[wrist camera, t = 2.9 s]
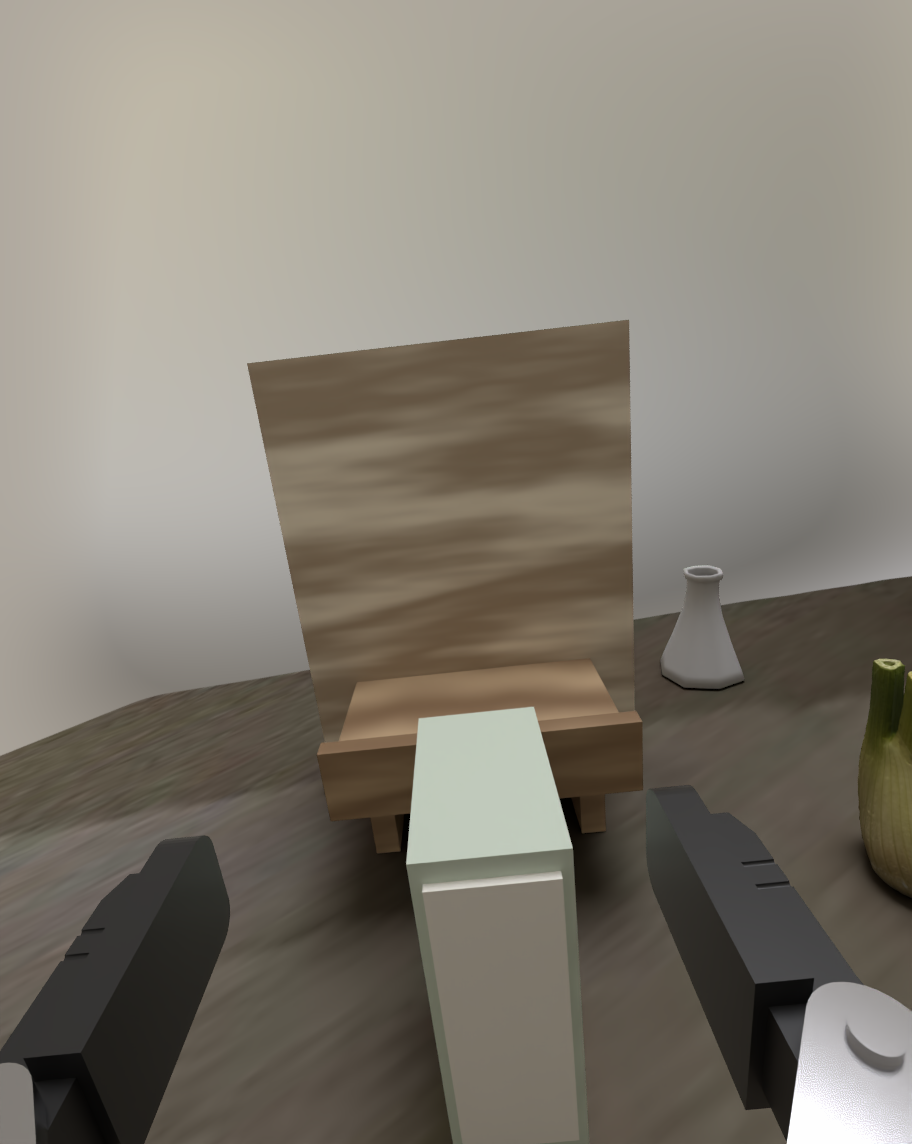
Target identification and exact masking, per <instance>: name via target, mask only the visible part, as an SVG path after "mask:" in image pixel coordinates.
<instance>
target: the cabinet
mask: <svg viewBox="0 0 912 1144" xmlns="http://www.w3.org/2000/svg"><path fill="white" fill-rule="evenodd" d="M406 867H407V873H408V879H409V885H410V891H411V897H412V903H413V909H414V914H415V920H416V926H417V932H418V938H419V944H420V950H421V956H422V962H423V968H424V974H425V980H426V986H427V992H428V998H429V1004H430V1010H431V1016H432V1022H433V1028H434V1034H435V1040H436V1046H437V1052H438V1058H439V1064H440V1070H441V1076H442V1082H443V1088H444V1094H445V1100H446V1106H447V1112H448V1117H449V1123H450V1129H451V1135H452V1141H453V1144H589V1129H588V1111H587V1093H586V1075H585V1057H584V1039H583V1021H582V1003H581V985H580V967H579V949H578V931H577V913H576V896H575V878H574V860H573V847H572V843H571V840H570V836H569V832H568V829H567V825H566V822H565V818H564V814H563V811H562V807H561V803H560V800H559V796H558V793H557V789H556V785H555V782H554V778H553V774H552V771H551V767H550V764H549V760H548V756H547V753H546V749H545V745H544V742H543V738H542V735H541V731H540V727H539V724H538V720H537V716H536V713H535V709H534V707H526V708H516V709H506V710H496V711H487V712H477V713H467V714H457V715H447V716H438V717H428V718H419V721H418V733H417V744H416V756H415V767H414V779H413V791H412V802H411V814H410V826H409V837H408V849H407V860H406Z"/></svg>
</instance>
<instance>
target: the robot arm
mask: <svg viewBox="0 0 912 1144" xmlns="http://www.w3.org/2000/svg"><path fill="white" fill-rule="evenodd" d="M646 855H647V865H648V871H649V876H650V880H651V884H652V887H653V890H654V893H655V896H656V898H657V901H658V903H659V905H660V908H661V910H662V913H663V915H664V917H665V920H666V922H667V924H668V927H669V929H670V932H671V934H672V936H673V939H674V941H675V943H676V946H677V948H678V951H679V953H680V955H681V958H682V960H683V962H684V965H685V967H686V970H687V972H688V974H689V977H690V979H691V981H692V984H693V986H694V989H695V991H696V993H697V996H698V998H699V1000H700V1003H701V1005H702V1008H703V1010H704V1012H705V1015H706V1017H707V1019H708V1022H709V1024H710V1027H711V1029H712V1031H713V1034H714V1036H715V1038H716V1041H717V1043H718V1046H719V1048H720V1050H721V1053H722V1055H723V1057H724V1060H725V1062H726V1064H727V1067H728V1069H729V1072H730V1074H731V1076H732V1079H733V1081H734V1083H735V1086H736V1088H737V1091H738V1093H739V1095H740V1098H741V1100H742V1102H743V1105H744V1107H745V1110H751V1109H762V1108H771V1109H772V1111H773V1113H774V1115H775V1118H776V1120H777V1122H778V1124H779V1126H780V1128H781V1131H782V1133H783V1135H784V1137H785V1139H786V1142H787V1144H912V1012H911V1011H910V1010H909V1009H907V1008H906V1007H905V1006H903V1005H902V1004H901V1003H899V1002H898V1001H896V1000H894V999H893V998H891V997H890V996H888V995H886V994H884V993H882V992H880V991H878V990H876V989H873V988H870V987H867V986H865V985H863V984H862V982H861V981H860V980H859V978H858V977H857V976H856V975H855V973H854V972H853V971H852V969H851V968H850V966H849V965H848V964H847V962H846V961H845V959H844V958H843V956H842V955H841V954H840V952H839V951H838V949H837V948H836V947H835V945H834V944H833V942H832V941H831V939H830V938H829V937H828V935H827V934H826V932H825V931H824V930H823V928H822V927H821V925H820V924H819V922H818V921H817V920H816V918H815V917H814V915H813V914H812V913H811V911H810V910H809V908H808V907H807V906H806V904H805V903H804V901H803V900H802V898H801V897H800V896H799V894H798V893H797V891H796V890H795V889H794V887H791V886H790V884H789V880H788V879H787V877H786V876H785V874H784V873H783V872H782V870H781V869H780V867H779V866H778V864H775V863H774V859H773V857H772V856H771V855H770V853H769V852H768V850H767V849H766V848H765V846H764V845H763V843H762V842H761V840H760V839H759V838H758V836H757V835H756V833H755V832H753V831H752V830H751V829H749V828H748V827H747V826H745V825H744V824H743V823H741V822H740V821H739V820H737V819H736V818H735V817H733V816H732V815H731V814H729V813H718V814H710V812H709V811H708V809H707V808H706V806H705V804H704V803H703V801H702V800H701V798H700V796H699V795H698V793H697V792H696V790H695V789H694V788H693V787H692V786H691V785H684V786H674V787H665V788H655V789H649V790H648V791H647V796H646ZM229 919H230V904H229V898H228V895H227V891H226V888H225V884H224V881H223V877H222V874H221V870H220V867H219V863H218V860H217V857H216V853H215V850H214V846H213V843H212V841H211V839H210V838H209V837H208V836H195V837H185V838H175V839H166V840H163V841H161V842H160V843H159V844H158V845H157V847H156V848H155V850H154V851H153V853H152V854H151V856H150V857H149V859H148V861H147V862H146V864H145V865H144V867H143V869H142V870H141V872H140V873H138V874H130V875H128V876H127V877H126V878H125V879H124V880H123V881H122V882H121V883H120V884H119V885H118V886H117V887H115V888H114V889H113V890H112V891H111V892H110V893H109V894H108V895H107V896H106V897H105V898H103V899H102V900H101V902H100V903H99V905H98V906H97V908H96V909H95V911H94V912H93V914H92V915H91V917H90V918H89V920H88V921H87V923H86V924H85V926H84V927H83V929H82V933H81V936H77V938H76V939H75V940H74V942H73V943H72V945H71V946H70V948H69V949H68V951H67V952H66V954H65V959H64V961H61V962H60V963H59V964H58V966H57V967H56V969H55V970H54V972H53V973H52V975H51V976H50V978H49V979H48V981H47V982H46V984H45V985H44V987H43V988H42V990H41V991H40V993H39V994H38V996H37V997H36V999H35V1000H34V1002H33V1003H32V1005H31V1006H30V1008H29V1009H28V1011H27V1012H26V1014H25V1015H24V1016H23V1018H22V1019H21V1021H20V1022H19V1024H18V1025H17V1027H16V1028H15V1030H14V1031H13V1033H12V1034H11V1036H10V1037H9V1039H8V1040H7V1042H6V1043H5V1045H4V1046H3V1048H2V1049H1V1051H0V1144H144V1143H145V1140H146V1138H147V1135H148V1133H149V1130H150V1128H151V1125H152V1123H153V1120H154V1118H155V1115H156V1113H157V1110H158V1107H159V1105H160V1102H161V1100H162V1097H163V1095H164V1092H165V1090H166V1087H167V1085H168V1082H169V1080H170V1077H171V1075H172V1072H173V1070H174V1067H175V1065H176V1062H177V1060H178V1057H179V1055H180V1052H181V1050H182V1047H183V1045H184V1042H185V1040H186V1037H187V1034H188V1032H189V1029H190V1027H191V1024H192V1022H193V1019H194V1017H195V1014H196V1012H197V1009H198V1007H199V1004H200V1002H201V999H202V997H203V994H204V992H205V989H206V987H207V984H208V982H209V979H210V977H211V974H212V972H213V969H214V967H215V964H216V962H217V959H218V956H219V954H220V951H221V949H222V946H223V944H224V941H225V938H226V935H227V932H228V927H229Z"/></svg>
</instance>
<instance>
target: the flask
mask: <svg viewBox="0 0 912 1144" xmlns="http://www.w3.org/2000/svg"><path fill="white" fill-rule="evenodd" d="M683 571H684V575H685V578H686V579H687V590H686V595H685V600H684V604H683V608H682V611H681V613H680V616H679V618H678V621H677V623H676V626H675V628H674V631H673V633H672V635H671V637H670V639H669V642H668V644H667V646H666V648H665V650H664V652H663V655H662V657H661V660H660V662H661V670H662V675H664V676H666V677H667V678H669V679H671V680H672V681H674V682H676V683H677V684H679V685H681V686H682V687H684V688H709V689H721V688H724V687H726V686H729V685H732V684H735V683H738V682H741V681H744V680H745V679H744V676H743V673H742V670H741V668H740V665H739V662H738V660H737V657H736V654H735V652H734V649H733V646H732V643H731V640H730V637H729V634H728V631H727V628H726V625H725V622H724V619H723V616H722V611H721V605H720V599H719V581H720V580H721V579H722V578H723V573H722V570H721V569H719V568H716V567H713V566H692V567H688V568H684V570H683Z"/></svg>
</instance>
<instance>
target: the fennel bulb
mask: <svg viewBox="0 0 912 1144" xmlns="http://www.w3.org/2000/svg"><path fill="white" fill-rule="evenodd" d="M904 670H905V665H903V664H902V663H901V661H898V660H894V659H893V660H891V659H878V660H874V662H873V667H872V686H871V700H870V710H869V715H868V722H867V725H866V732H865V735H864V737H865V738H864V740H863V744H862V748H861V754H860V760H859V775H858V796H859V810H860V816H859V819H860V826H861V832H862V838H863V840H864V844H865V848H866V851H867V855H868V857H869V859H870V862H871V865H872V868H873V870H874V871H875V872H876V873H877V875H878V876H879V877H880V878H881V879H882V880H883V881H884V882H885V883H886V884H888V885H889V886H890V887H892V888H894V889H895V890H897V891H899V892H900V893H902V894H904V895H906V896H908V897H910V898H912V672H909V673H908V675H907V681H906V686H905V693H904V672H905V671H904Z"/></svg>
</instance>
